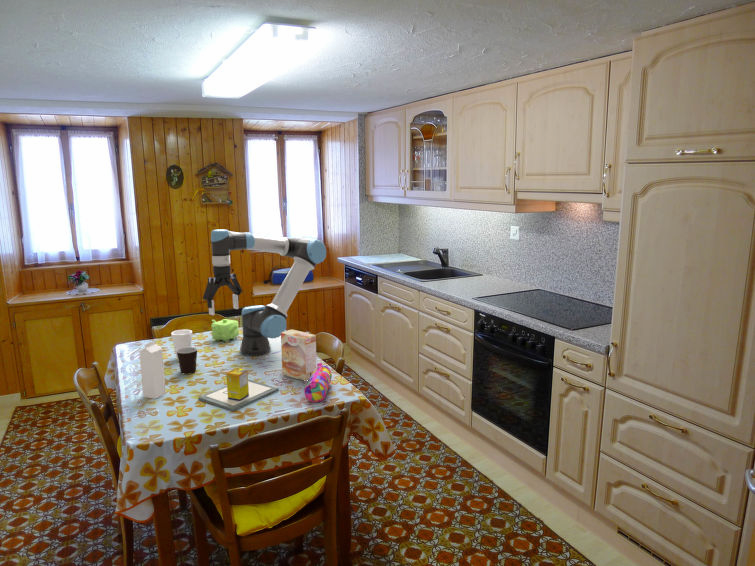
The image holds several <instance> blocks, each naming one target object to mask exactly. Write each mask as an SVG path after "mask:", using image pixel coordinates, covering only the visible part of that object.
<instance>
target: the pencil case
mask: <svg viewBox="0 0 755 566" xmlns="http://www.w3.org/2000/svg"><path fill="white" fill-rule="evenodd" d="M332 377H333V376H332V372H331V369H330V367H329V366H327V365H324V364H323V362H320V363H317V362H316V367H315V368H314V369H313V371H312V373H311V372H310V379H309V381H308V382H307V384H306V385H305V386H304V388H303V395H305V398H306V400H308V401H310V402H312V403H320V402H322V401H324V400H325V399H326V396H327V393H328V392H329V388H330V387H329V386H330V384H331V382H332ZM319 401H320V402H319Z"/></svg>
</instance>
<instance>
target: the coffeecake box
mask: <svg viewBox="0 0 755 566" xmlns="http://www.w3.org/2000/svg"><path fill="white" fill-rule="evenodd" d="M316 336H317V335H316V334H313V333H309V332H305V331H300V330H296V329H288V330H285V331H284V332H281V336H280V340H281V341H280V343H281V347H280V348H281V349H280V350H281V371H282V372H281V373H282V374H283V375H282V376H285V375H287V376H286V377H289V376H290V377H289V378H292V377H293V378H292V379H295V378H297V379H296V380H298V379H301V380H305V381H307V380H309V379H310V372H311V373H312V371H313V369H314V368H315V367H317V337H316ZM301 380H300V381H301ZM305 381H304V382H305ZM307 382H308V381H307Z"/></svg>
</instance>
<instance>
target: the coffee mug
mask: <svg viewBox="0 0 755 566" xmlns="http://www.w3.org/2000/svg"><path fill="white" fill-rule="evenodd" d="M177 355H178V360H177V361H178V366H179V369H180V373H181V374H182V373H184V374H183V375H189V373H191V374H194V373H196V372H197V361H198V359H197V358H198V348H197V347H193V346H191V347H186V348H181V349H179V350H177ZM195 371H196V372H195Z"/></svg>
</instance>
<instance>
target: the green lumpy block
mask: <svg viewBox="0 0 755 566" xmlns="http://www.w3.org/2000/svg"><path fill="white" fill-rule="evenodd" d="M211 321H212V323H211V334H212V336H211V337H212V339H214V340H216V341H217V342H218V341H223V342H224V343H228V342H229V340H230V339H231V340H235V339H236V337H238V336H239V335H240V331H239V320H233V319H227V318H223V319H221V320H219V321H216V319H211Z"/></svg>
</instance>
